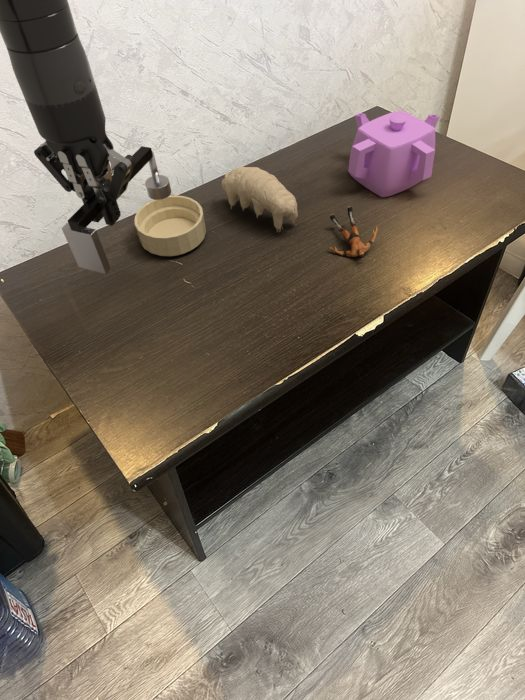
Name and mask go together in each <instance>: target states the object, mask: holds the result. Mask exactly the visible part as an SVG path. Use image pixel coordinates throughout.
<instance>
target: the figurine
mask: <svg viewBox="0 0 525 700" xmlns="http://www.w3.org/2000/svg"><path fill="white" fill-rule="evenodd" d="M346 208H347V216H348V218H349V225H350V227H351V233H350V232H349V231H348V230H347V229H345V228H344V227H343V226H342V225H341V224H340V222H339V221H338V219H337V217H336V215H335V214H334V213H332V214H330V215H329V219H330V221H332V222H333V224H335V226H336V227H337V230H338V231H339V232H340V233H341V234H342V236H343V238H344V239H345V240H346V241H347V243H348V244H349V246H350V250H346V251H343V250H338V248H337V247H336V246H333V247H334V248H333V247H331V246H329V250H330V251H331V252H333V253H335V254H337V255H340V256H341V257H342V256H343V257H344V256H345V257H351V258H353V257H359V258H360V259H364V258H365V253H367V252H368V251H369V249H371V246H372V245H373V244H374V242H375V240H376V236H377V234H378V230H379V229H378V226H375V230H374V229H372V236H371V237H370V239H369V240H368V241H367V242H366V243H364V242H363V241H362V240H361V237H360V234H359V231H358V227H357V225H356V221H355V220H354V218H353V213H354V212H353V207H352V206H350V205H349V206H348V207H346Z"/></svg>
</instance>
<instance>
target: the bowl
mask: <svg viewBox="0 0 525 700" xmlns="http://www.w3.org/2000/svg"><path fill="white" fill-rule="evenodd" d="M133 219H134V227H135V230H136V233H137V236H138V240H139V243H140V245H141V246H142V248H143V249H144V250H146V251H148V252H149V254H153V255H156V256H159V257H177V256H180V255H184V254H186V253H188V252H191V251H192V250H194V249H195V248H197V247H198V246H200V244H201V243H202V242H203V241H204V240H205V237H206V235H207V228H206V227H207V226H206V222H205V217H204V210H203V207H202V205H201V204H200V203H199V202H198V201H196V200H195V199H193V198H192V197H189V196H185V195H170V196H168V197H167V198H165V199H161V200H154V199H151V200H149V201H148V202H147V203H144V204H143V205H142V206H141V207H140V208H139V209H138V210H137V211H136V214H135V216H134V218H133Z"/></svg>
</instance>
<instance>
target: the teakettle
mask: <svg viewBox="0 0 525 700" xmlns="http://www.w3.org/2000/svg"><path fill="white" fill-rule="evenodd" d="M354 119H355V124H356V129H357V131H356V134H355V137H354V139H353V143H352V145H351V146H352V147H351V151H350V155H349V161H348V170H347V172H348V173H349V175H350V177H351V178H352V179H353V180H354V181H356V182H358V183H359V184H360V185H362V186H363V187H364V188H366V189H368V190H369V191H370V192H372V193H374V194H375V195H377V196H379V197H380V198H388V197H391V196H394V195H396V194H400V193H402V192H404V191H407V190H409V189H411V188H412V187H414V186H416V185H418V184H419V183H420V182H422V181H425V180H427V179H430V178H432V175H433V167H434V161H435V154H436V127H437V124H438V121H439V119H440V116H439V115H437V114H435V113H433V114H428V116H427V117H426V118H425V120H422V119H420V118H418V117H417V116H415V115H413V114H411V113H409V112H407V111H406V110H405V111H404V110H403V109H402V110H401V109H400V110H396V111H392V112H389V113H387V114H386V113H385V114H384V115H381V116H378V117H376V118H374V119H372V120H369V118H368V117H367V114H366V113H362V112H359V113H357V114H354Z"/></svg>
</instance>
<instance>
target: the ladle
mask: <svg viewBox="0 0 525 700" xmlns="http://www.w3.org/2000/svg"><path fill="white" fill-rule="evenodd" d="M131 156H133V157H134V159H135V164H134V167H133V171H132V174H131V177H130V180H129V183H130V182H131V181H132V180H133V179H134V178H135V176H137V174H138V173H140V171H141V170H142V169H143V168H144V167H145V166H146V165H147V164H148V165H149V168H150V169H149V170H150V172H151V176H150V177H148V178H147V179H146V180H145V182H144V184H145V188H146V193H147V196H148V198H149V199H151V200H161V199H165V198H167V197H168V196H171V194H172V187H171V183H170V178H168V176H166V175H163V174H159V169H158V165H157V160H156V157H155V152H154V151H153V150H152V148H151V147H148V146H144V145H141V146H140V147H139V148H138V149H137V150H136V151H135V152H134V153H133V154H132V155H131ZM112 177H113V174H112ZM103 188H105V186H104V184H103ZM98 202H99V200H98V199H97V196H96V194H95V193H94V194H93V195H92V196H91V197H90V199H89V200H88V201H87V202H86V203H85V204H84V203H83V204H82V205H81V206H80V207H79V208H78V209H77V210H76V211H75V212H74V214H72V215H71V216H70V217H69V218H68V220H67V222H66V223H65V224H64V225H63V226H62V227H61V230H62V233H63V235H64V237H65V239H66V242H67V244H68V247H69V248H70V251H71V253H72V255H73V257H74V261H75V262H76V264H77V266H78V268H80V269H84V270H88V271H91V272H96V273H100V274H103V275H108V273H109V272H110V271H111V266H110V263H109V260H108V257H107V254H106V252H105V249H104V247H103V244H102V242H101V238H100V237H99V234H98V231H97V229H95V228H91V227H88V226H89V225H90V224H91V223H92V222H93V220H94V219H95V217H96V216H97V215H98V214H99V213H100V212H101V208H100V206H99V203H98Z"/></svg>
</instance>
